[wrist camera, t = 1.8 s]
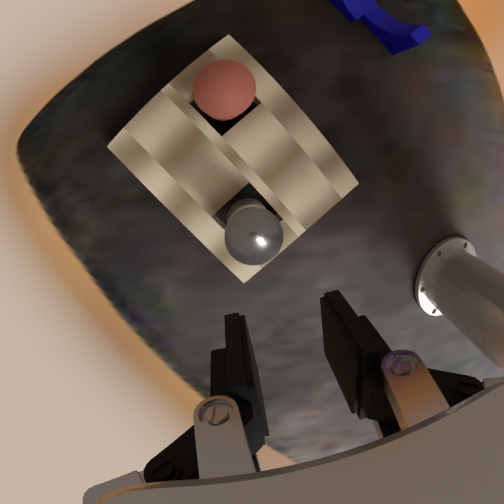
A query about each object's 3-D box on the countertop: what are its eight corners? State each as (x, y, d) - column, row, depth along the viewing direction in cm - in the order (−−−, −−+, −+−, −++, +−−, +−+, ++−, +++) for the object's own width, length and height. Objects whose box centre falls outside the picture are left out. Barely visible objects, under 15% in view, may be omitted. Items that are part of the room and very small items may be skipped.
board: (347, 179, 32) (359, 183, 29) (242, 271, 35) (244, 283, 32) (227, 43, 26) (228, 34, 23) (116, 145, 28) (106, 146, 26)
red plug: (259, 102, 26) (269, 90, 20) (221, 133, 26) (221, 130, 20) (226, 68, 24) (227, 48, 18) (188, 99, 25) (179, 87, 19)
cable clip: (315, -11, 24) (331, -33, 18) (339, -24, 23) (357, -45, 17) (384, 61, 28) (411, 50, 22) (404, 45, 27) (432, 34, 21)
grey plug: (280, 219, 30) (295, 239, 24) (245, 249, 30) (252, 276, 25) (249, 185, 28) (256, 196, 22) (214, 217, 29) (212, 236, 23)
